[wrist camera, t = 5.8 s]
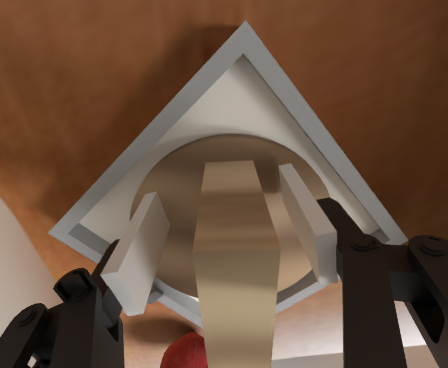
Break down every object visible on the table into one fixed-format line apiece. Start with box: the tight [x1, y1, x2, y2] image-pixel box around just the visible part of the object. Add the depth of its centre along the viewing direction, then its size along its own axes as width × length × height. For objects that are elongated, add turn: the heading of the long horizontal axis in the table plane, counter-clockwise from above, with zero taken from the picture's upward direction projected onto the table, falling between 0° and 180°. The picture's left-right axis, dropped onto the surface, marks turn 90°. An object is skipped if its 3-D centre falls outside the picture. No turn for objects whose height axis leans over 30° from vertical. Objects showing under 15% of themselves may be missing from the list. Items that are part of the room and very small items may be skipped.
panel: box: [48, 20, 408, 328], centre depth 19 cm, size 19×20×3 cm
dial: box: [130, 134, 330, 368], centre depth 15 cm, size 15×15×9 cm
